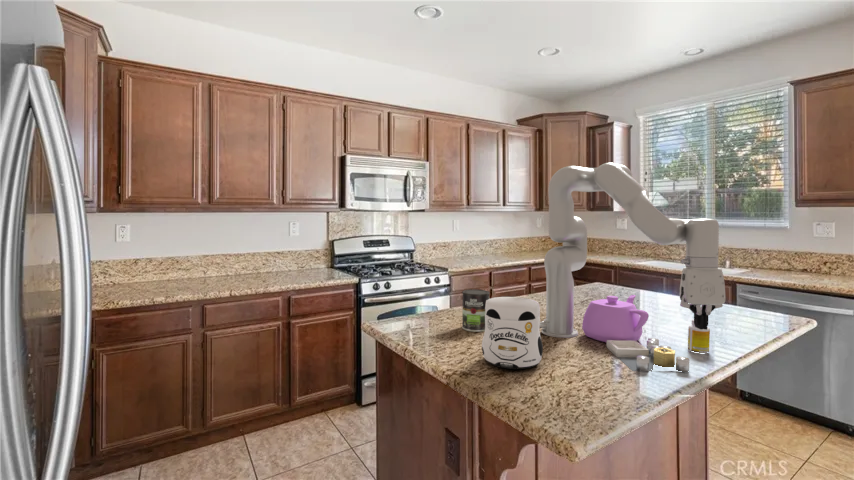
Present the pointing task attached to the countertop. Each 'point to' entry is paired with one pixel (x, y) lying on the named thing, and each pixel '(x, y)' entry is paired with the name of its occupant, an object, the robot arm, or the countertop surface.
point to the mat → (635, 362)
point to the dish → (627, 348)
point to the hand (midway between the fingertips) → (700, 328)
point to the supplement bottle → (698, 339)
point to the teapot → (614, 319)
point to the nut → (664, 357)
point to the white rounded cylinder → (512, 333)
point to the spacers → (643, 361)
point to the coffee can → (474, 310)
